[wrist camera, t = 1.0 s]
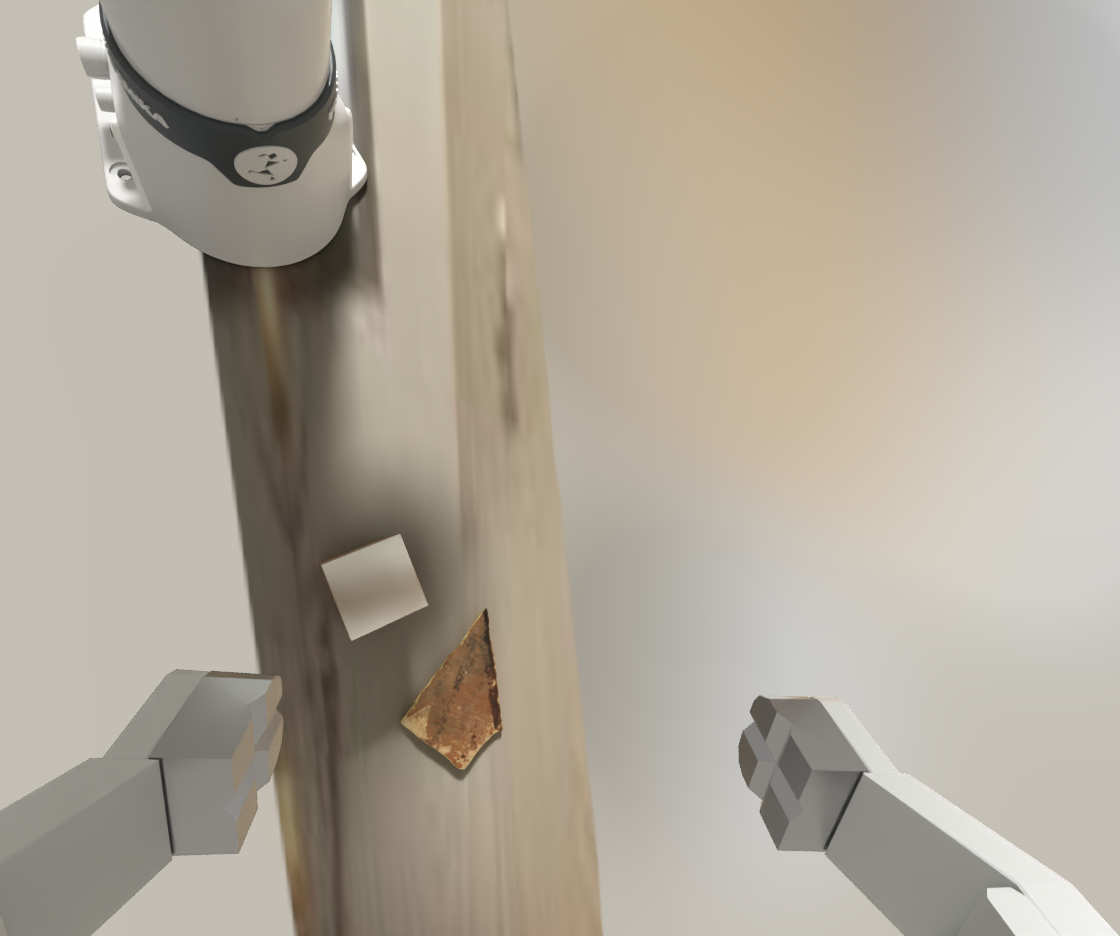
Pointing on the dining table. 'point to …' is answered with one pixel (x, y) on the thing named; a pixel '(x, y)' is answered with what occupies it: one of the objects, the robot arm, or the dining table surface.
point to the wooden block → (373, 585)
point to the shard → (460, 699)
